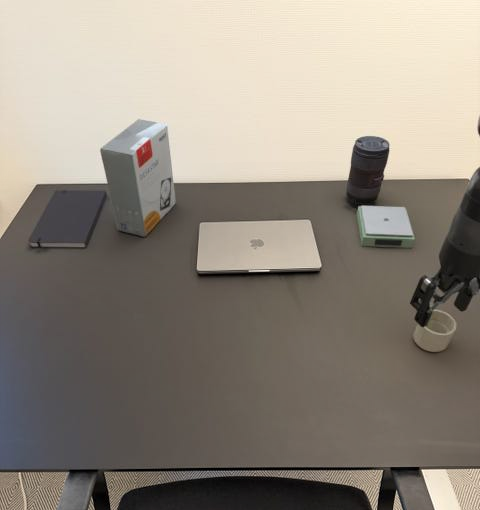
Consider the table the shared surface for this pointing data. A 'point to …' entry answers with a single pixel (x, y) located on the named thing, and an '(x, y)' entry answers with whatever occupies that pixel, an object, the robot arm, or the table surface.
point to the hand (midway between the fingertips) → (440, 315)
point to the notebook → (68, 219)
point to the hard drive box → (139, 176)
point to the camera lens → (367, 170)
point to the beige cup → (435, 332)
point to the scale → (385, 227)
